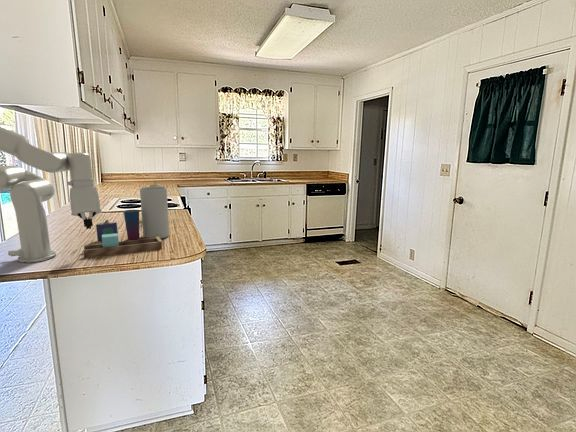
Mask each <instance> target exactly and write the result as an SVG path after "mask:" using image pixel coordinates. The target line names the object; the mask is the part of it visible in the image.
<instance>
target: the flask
mask: <svg viewBox="0 0 576 432" xmlns="http://www.w3.org/2000/svg"><path fill="white" fill-rule="evenodd" d="M95 227H96V228H95V230H96V237H97V239H96V240H97V242H102V235H104V234H115V233H118V222H117V221H111V222H109V219H105V221H104V222H99V223H97V224H96V225H95ZM118 234H119V233H118Z"/></svg>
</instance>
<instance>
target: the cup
mask: <svg viewBox="0 0 576 432" xmlns="http://www.w3.org/2000/svg"><path fill="white" fill-rule="evenodd" d="M123 217H124V223H125V230H126V235H127V241H131V240H140V210H139V209H126V210H123Z"/></svg>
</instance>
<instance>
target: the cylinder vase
mask: <svg viewBox="0 0 576 432" xmlns="http://www.w3.org/2000/svg"><path fill="white" fill-rule="evenodd" d="M139 195H140V196H139V197H140V207H141V208H140V210H141V211H140V212H141V221H142V223H141V224H142V236H143V237H144V238H146V239H150V238H156V237H160V239H161V240H162V239H165V238H168V237H169V236H170V227H169V226H170V222H169V207H168V204H169V203H168V188H167V187H165V186H164V187H150V186H146V187H145V186H144V187H140V188H139Z"/></svg>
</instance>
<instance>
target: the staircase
mask: <svg viewBox="0 0 576 432" xmlns="http://www.w3.org/2000/svg"><path fill="white" fill-rule="evenodd" d="M149 187H165V186H164V185H163V184H162V185H161V184H159V183H157V181H156V180H155V179H153V184H149Z"/></svg>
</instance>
